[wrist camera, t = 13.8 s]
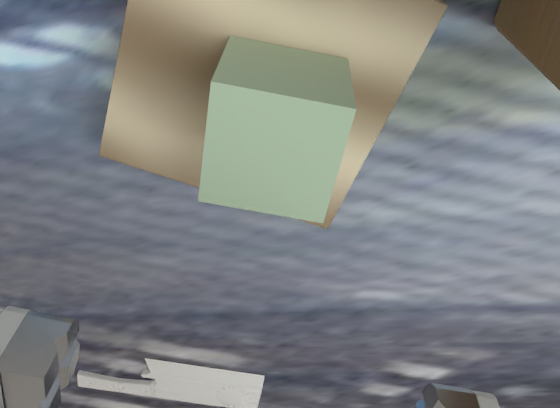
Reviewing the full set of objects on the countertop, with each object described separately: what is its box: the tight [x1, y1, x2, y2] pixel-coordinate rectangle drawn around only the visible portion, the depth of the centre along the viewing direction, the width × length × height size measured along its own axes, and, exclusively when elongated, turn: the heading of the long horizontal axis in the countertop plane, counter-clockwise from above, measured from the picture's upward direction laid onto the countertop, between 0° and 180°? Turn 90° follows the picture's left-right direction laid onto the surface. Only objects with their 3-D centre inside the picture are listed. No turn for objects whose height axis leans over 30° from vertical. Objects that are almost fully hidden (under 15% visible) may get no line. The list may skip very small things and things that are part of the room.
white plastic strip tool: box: [77, 358, 264, 408], centre depth 42 cm, size 5×15×1 cm, turn 80°
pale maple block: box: [99, 0, 448, 229], centre depth 25 cm, size 12×12×5 cm
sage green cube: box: [198, 35, 356, 223], centre depth 21 cm, size 5×5×5 cm
